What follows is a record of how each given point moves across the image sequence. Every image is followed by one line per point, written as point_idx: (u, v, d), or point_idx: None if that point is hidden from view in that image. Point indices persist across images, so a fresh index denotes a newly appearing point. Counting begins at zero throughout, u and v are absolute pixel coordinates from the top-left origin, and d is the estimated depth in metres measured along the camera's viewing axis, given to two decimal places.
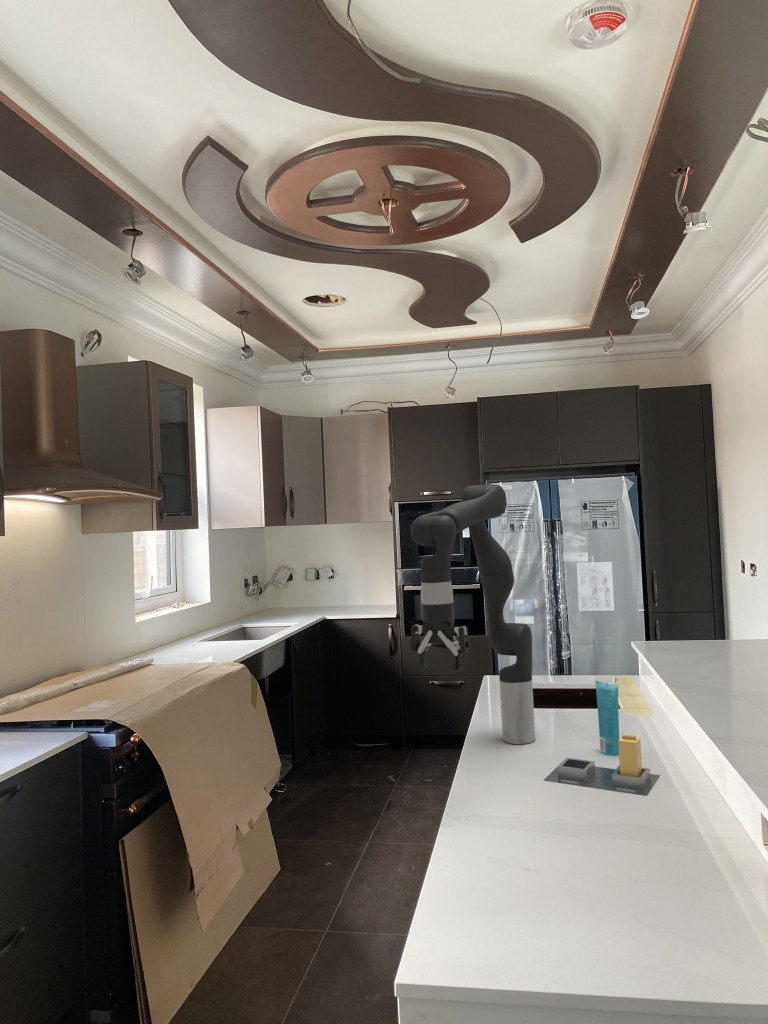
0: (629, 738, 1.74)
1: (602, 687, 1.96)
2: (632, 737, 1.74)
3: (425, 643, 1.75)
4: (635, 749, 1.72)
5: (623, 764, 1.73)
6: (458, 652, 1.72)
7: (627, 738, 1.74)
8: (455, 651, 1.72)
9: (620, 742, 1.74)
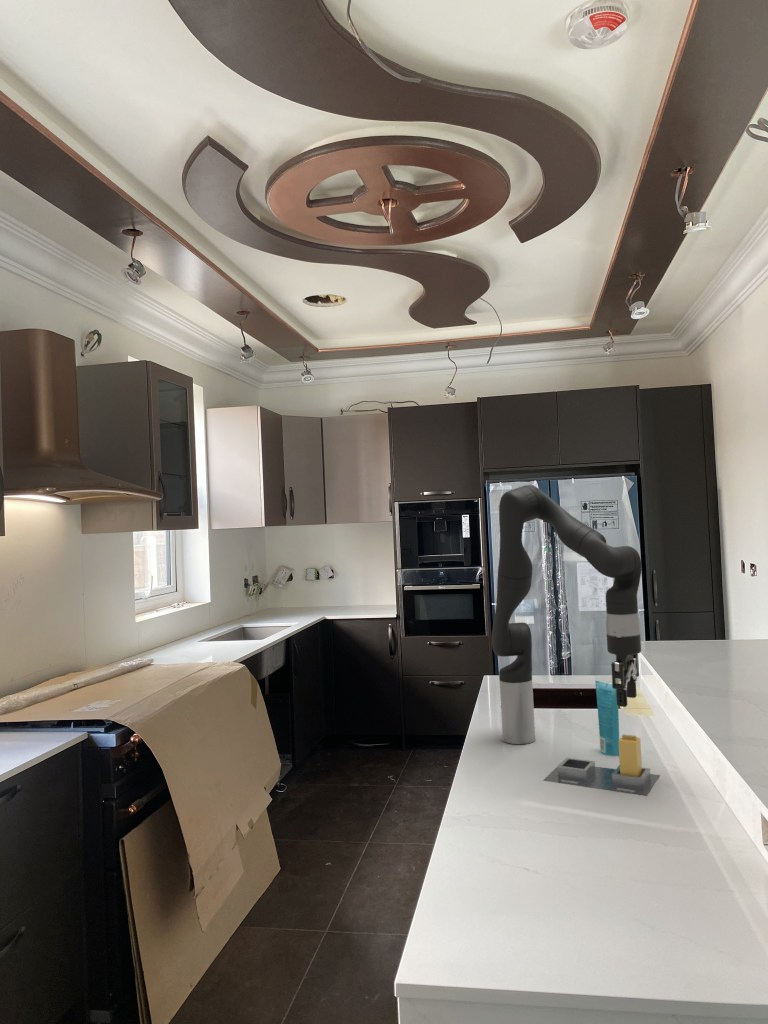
0: (629, 738, 1.74)
1: (602, 687, 1.96)
2: (632, 737, 1.74)
3: (629, 677, 1.71)
4: (635, 749, 1.72)
5: (623, 764, 1.73)
6: None
7: (627, 738, 1.74)
8: (636, 677, 1.78)
9: (620, 742, 1.74)
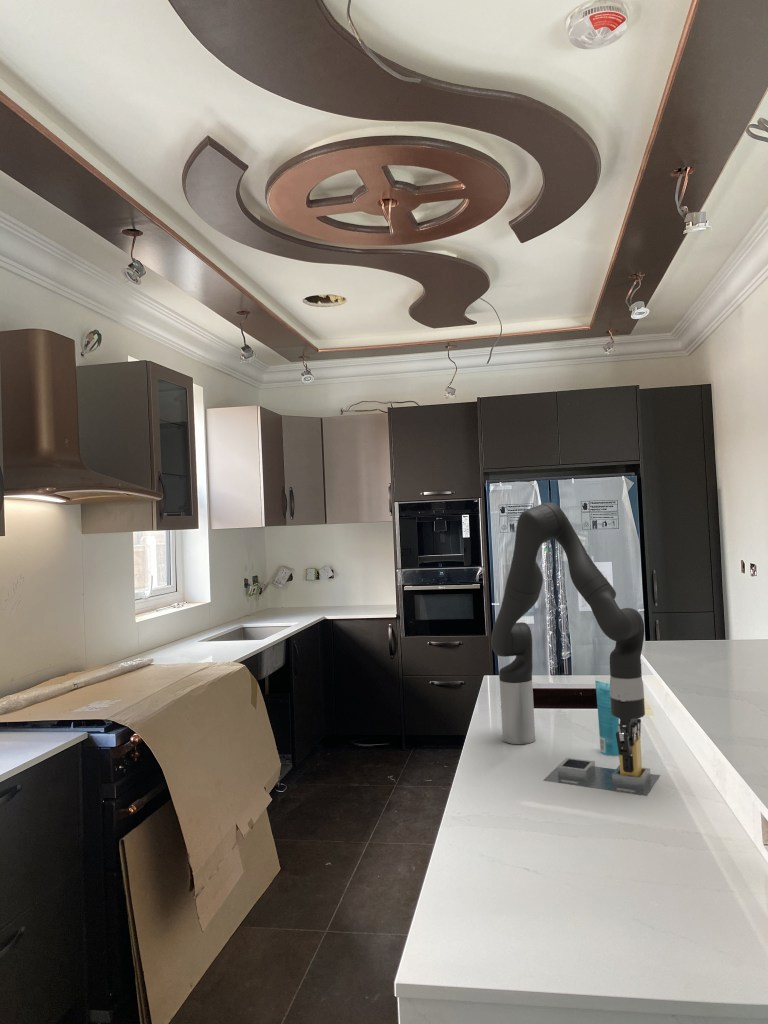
0: None
1: (602, 687, 1.96)
2: None
3: (634, 741, 1.72)
4: (635, 749, 1.72)
5: None
6: None
7: None
8: None
9: None
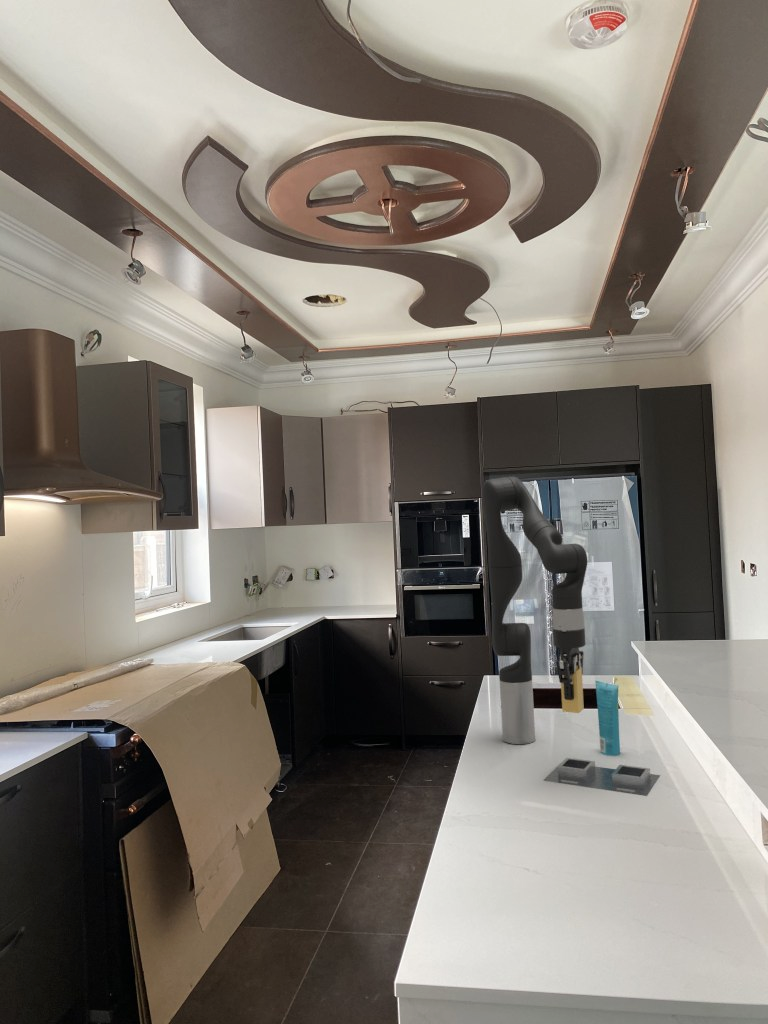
0: None
1: (602, 687, 1.96)
2: None
3: (575, 670, 1.79)
4: (575, 677, 1.79)
5: None
6: None
7: None
8: None
9: None
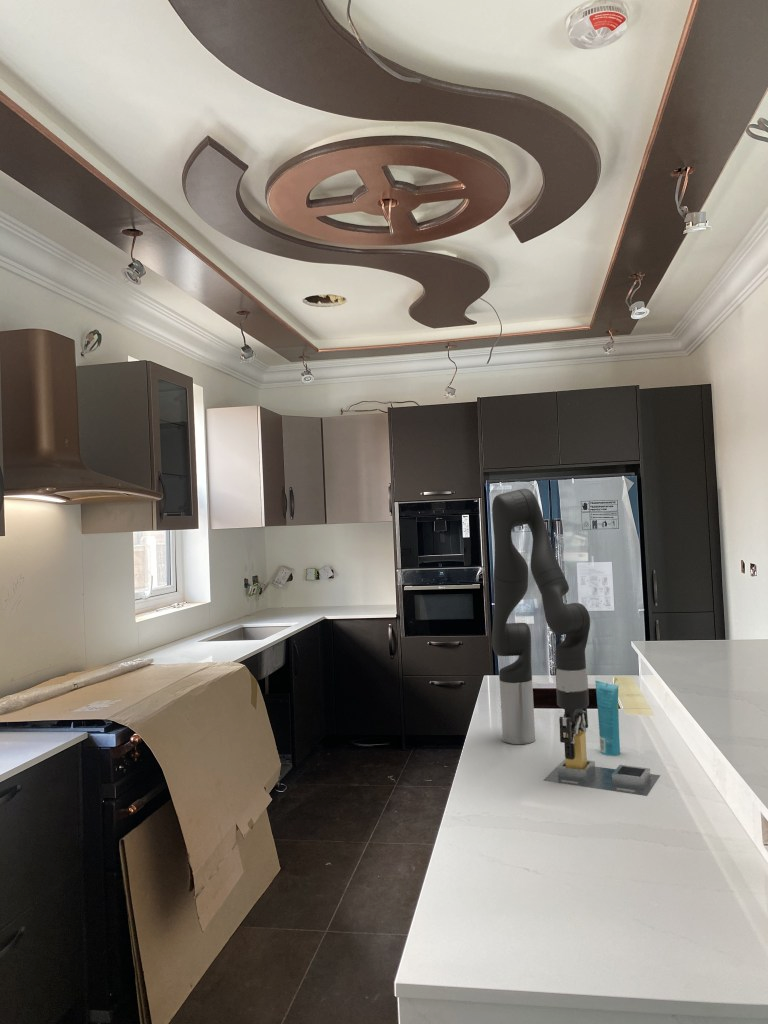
0: None
1: (602, 687, 1.96)
2: None
3: (577, 730, 1.78)
4: (579, 742, 1.79)
5: None
6: None
7: None
8: (585, 728, 1.84)
9: None
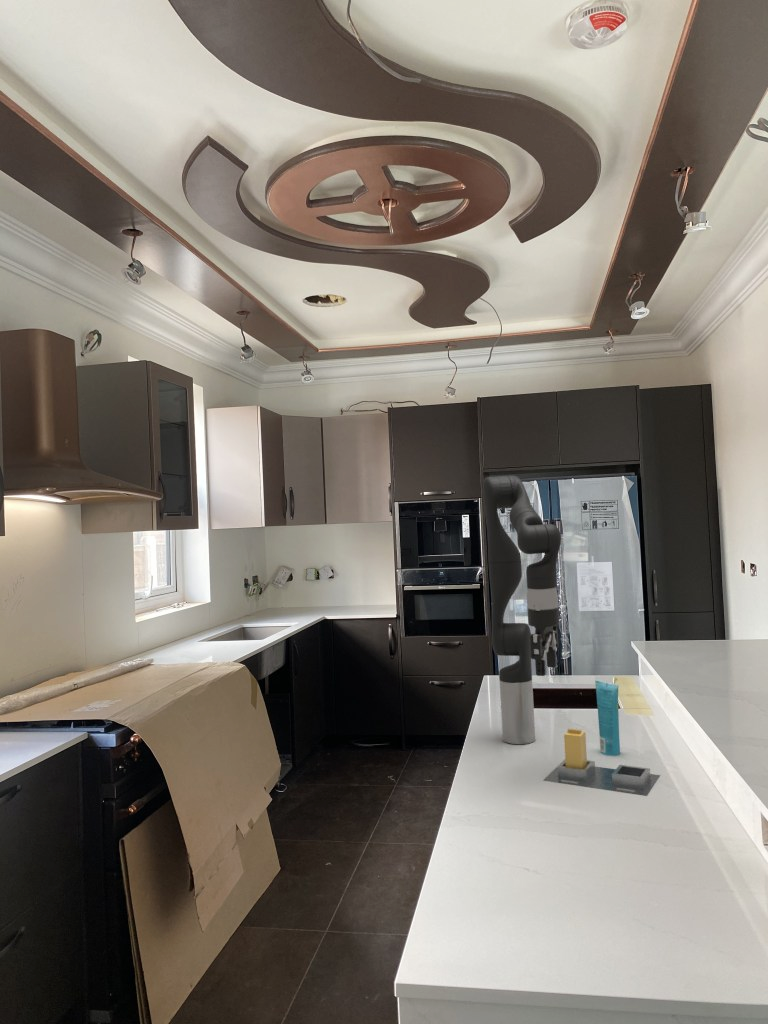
0: (574, 732, 1.81)
1: (602, 687, 1.96)
2: (577, 731, 1.80)
3: (548, 648, 1.81)
4: (579, 742, 1.79)
5: (569, 756, 1.80)
6: None
7: (572, 732, 1.81)
8: (555, 648, 1.88)
9: (565, 736, 1.80)
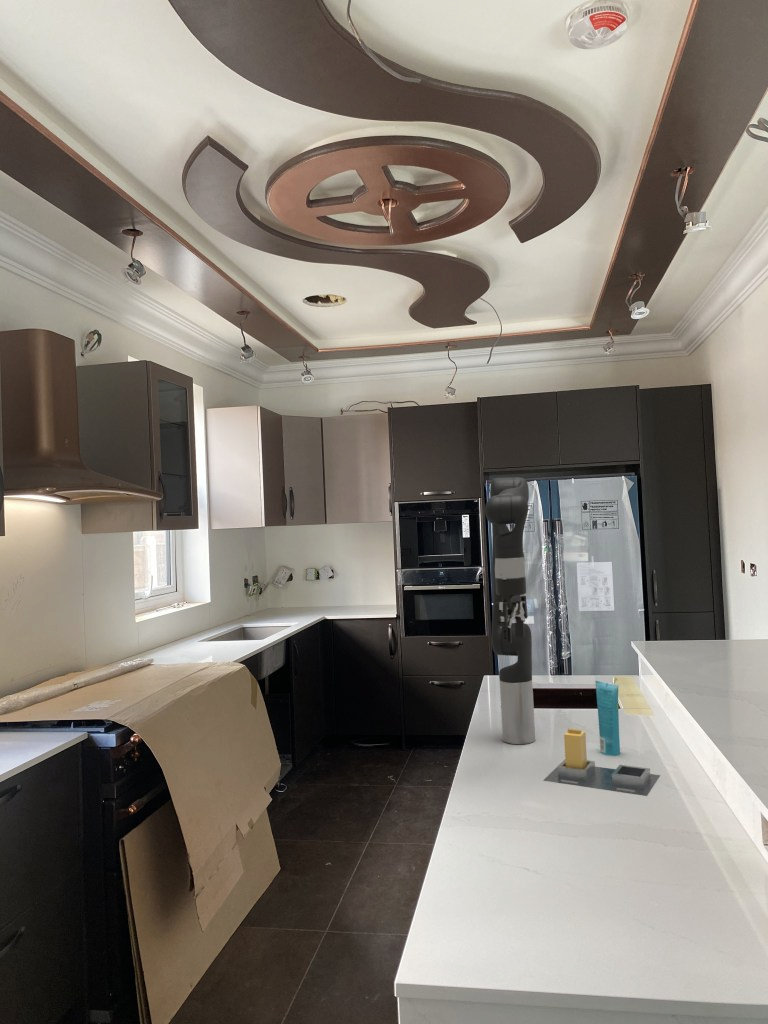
0: (574, 732, 1.81)
1: (602, 687, 1.96)
2: (577, 731, 1.80)
3: (514, 616, 1.84)
4: (579, 742, 1.79)
5: (569, 756, 1.80)
6: None
7: (572, 732, 1.81)
8: (524, 618, 1.91)
9: (565, 736, 1.80)
